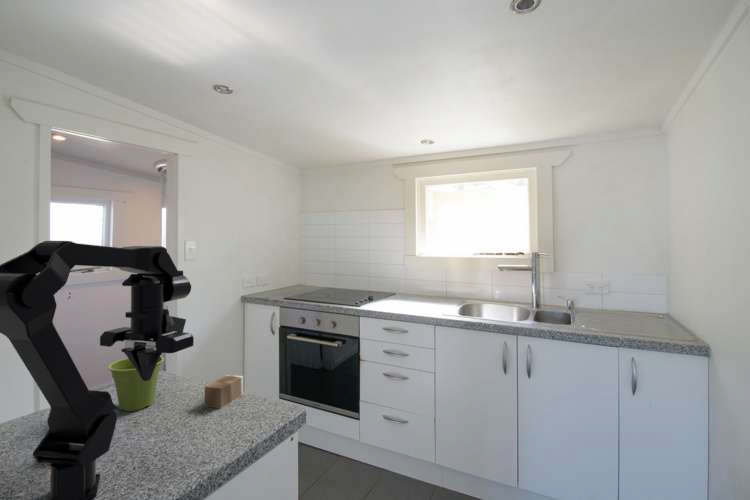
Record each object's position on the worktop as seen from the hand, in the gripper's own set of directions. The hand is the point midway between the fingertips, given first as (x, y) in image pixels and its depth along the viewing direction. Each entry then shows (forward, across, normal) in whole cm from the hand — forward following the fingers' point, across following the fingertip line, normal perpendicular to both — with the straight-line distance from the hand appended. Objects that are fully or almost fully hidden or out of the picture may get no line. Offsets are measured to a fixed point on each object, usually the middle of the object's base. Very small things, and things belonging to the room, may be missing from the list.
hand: (146, 380), depth 73 cm
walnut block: (+11, -2, -17) cm, 20 cm away
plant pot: (+13, +17, -12) cm, 25 cm away
